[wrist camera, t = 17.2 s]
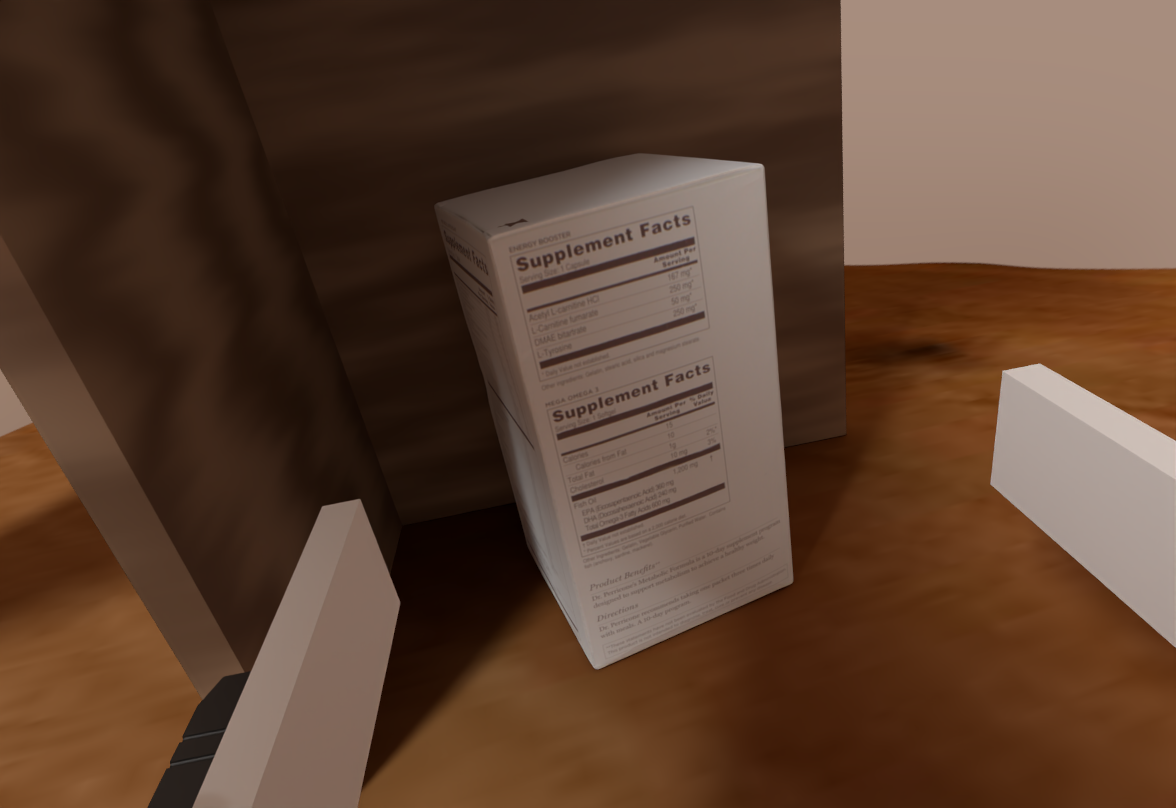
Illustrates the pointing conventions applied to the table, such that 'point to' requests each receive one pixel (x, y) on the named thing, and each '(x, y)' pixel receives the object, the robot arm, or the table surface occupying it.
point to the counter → (346, 250)
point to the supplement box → (633, 386)
